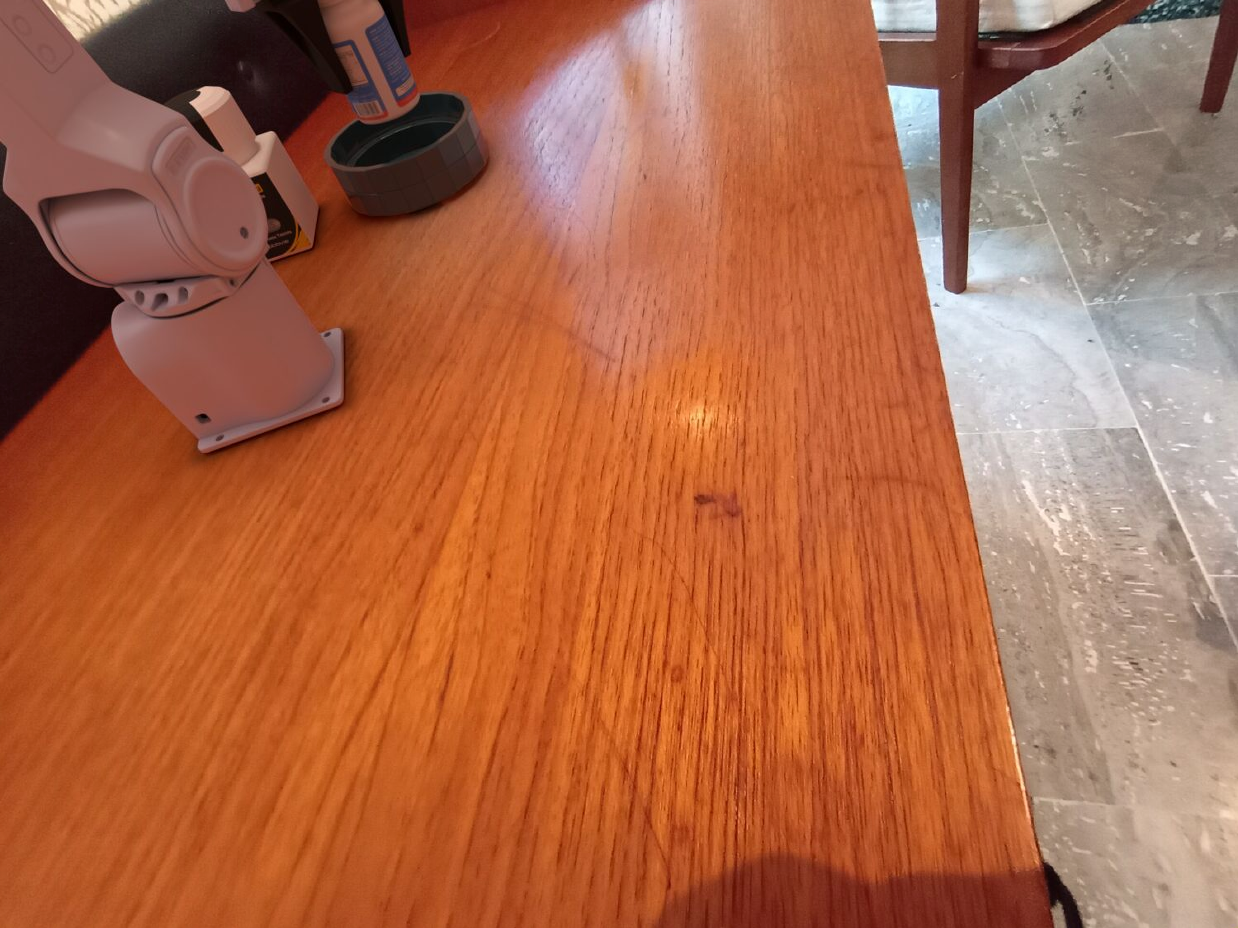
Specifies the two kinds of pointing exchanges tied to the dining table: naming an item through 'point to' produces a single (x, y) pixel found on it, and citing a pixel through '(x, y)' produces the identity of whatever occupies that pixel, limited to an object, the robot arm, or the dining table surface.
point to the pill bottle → (370, 59)
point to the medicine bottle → (255, 166)
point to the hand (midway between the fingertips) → (372, 73)
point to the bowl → (408, 156)
